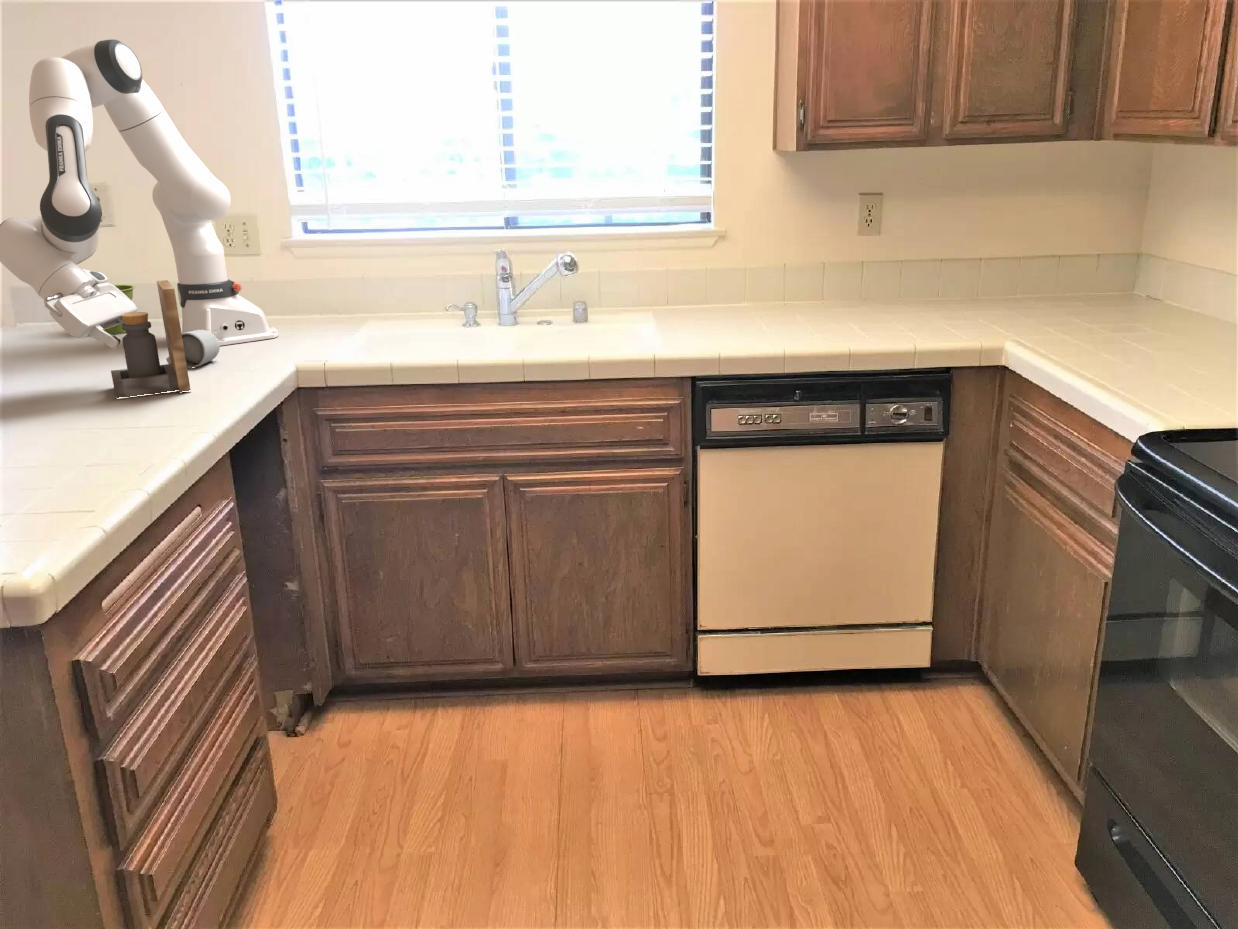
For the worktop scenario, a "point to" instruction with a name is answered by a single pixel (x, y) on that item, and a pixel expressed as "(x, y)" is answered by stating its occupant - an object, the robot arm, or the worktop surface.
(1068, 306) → the worktop surface
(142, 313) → the bottle
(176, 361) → the wooden stand
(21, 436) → the worktop surface
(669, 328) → the worktop surface
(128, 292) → the plant pot
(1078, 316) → the worktop surface
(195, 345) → the ceramic mug
